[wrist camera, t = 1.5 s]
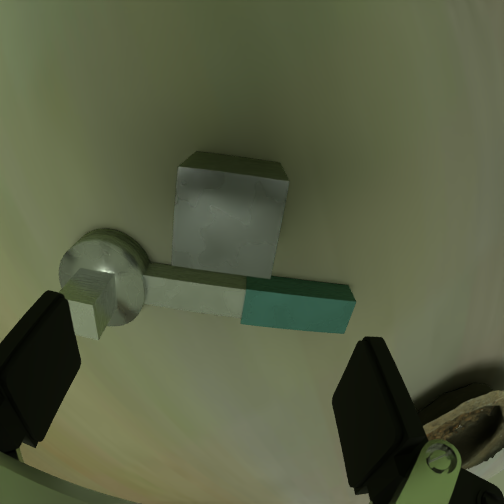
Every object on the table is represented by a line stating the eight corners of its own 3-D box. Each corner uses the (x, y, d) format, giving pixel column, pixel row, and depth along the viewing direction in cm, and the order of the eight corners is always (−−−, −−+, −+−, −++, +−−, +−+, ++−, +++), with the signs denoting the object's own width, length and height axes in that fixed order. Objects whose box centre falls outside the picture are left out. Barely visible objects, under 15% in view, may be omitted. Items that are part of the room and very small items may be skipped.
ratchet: (70, 223, 25) (24, 261, 18) (355, 262, 27) (385, 313, 20) (79, 299, 28) (45, 346, 22) (330, 334, 30) (347, 392, 23)
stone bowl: (483, 429, 42) (496, 465, 34) (366, 461, 46) (371, 504, 38) (530, 339, 32) (558, 382, 23) (381, 381, 35) (396, 442, 27)
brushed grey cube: (196, 151, 23) (177, 166, 17) (280, 162, 23) (289, 181, 17) (188, 228, 25) (171, 265, 20) (266, 239, 26) (270, 278, 20)
